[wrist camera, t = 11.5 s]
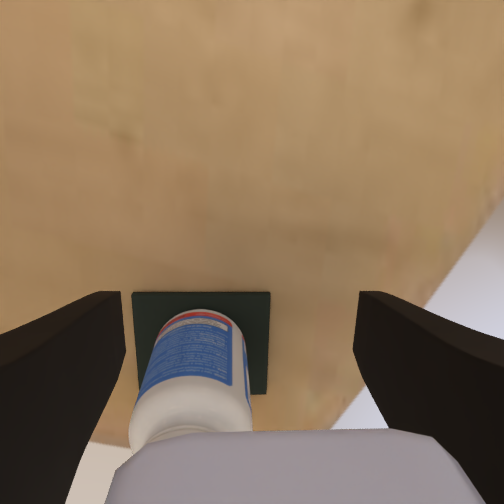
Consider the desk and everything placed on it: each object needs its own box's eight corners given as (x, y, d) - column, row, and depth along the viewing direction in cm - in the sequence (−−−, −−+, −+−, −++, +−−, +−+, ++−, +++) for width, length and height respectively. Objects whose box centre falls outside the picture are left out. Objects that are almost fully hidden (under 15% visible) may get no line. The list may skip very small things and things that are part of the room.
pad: (140, 392, 24) (139, 396, 24) (132, 291, 22) (130, 294, 22) (265, 390, 25) (266, 394, 24) (269, 291, 23) (270, 294, 22)
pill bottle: (137, 341, 23) (73, 489, 13) (206, 288, 22) (189, 407, 13) (197, 399, 24) (177, 568, 15) (264, 352, 23) (286, 499, 14)
